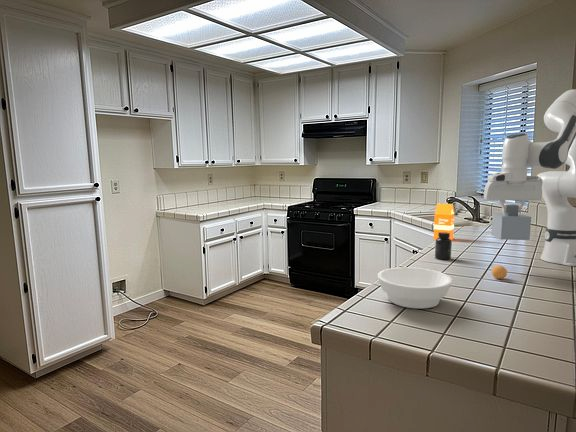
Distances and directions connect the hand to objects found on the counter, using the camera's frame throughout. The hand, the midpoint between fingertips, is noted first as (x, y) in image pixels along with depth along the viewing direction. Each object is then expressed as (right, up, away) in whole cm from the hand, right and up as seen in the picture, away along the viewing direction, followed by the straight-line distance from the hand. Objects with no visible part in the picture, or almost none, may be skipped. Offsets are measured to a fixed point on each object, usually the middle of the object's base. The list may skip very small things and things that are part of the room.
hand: (511, 211), depth 155 cm
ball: (-8, -23, -7) cm, 25 cm away
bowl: (-48, -29, -29) cm, 63 cm away
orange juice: (0, -15, +68) cm, 70 cm away
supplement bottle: (-17, -21, +25) cm, 37 cm away
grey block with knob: (0, -10, +1) cm, 10 cm away
